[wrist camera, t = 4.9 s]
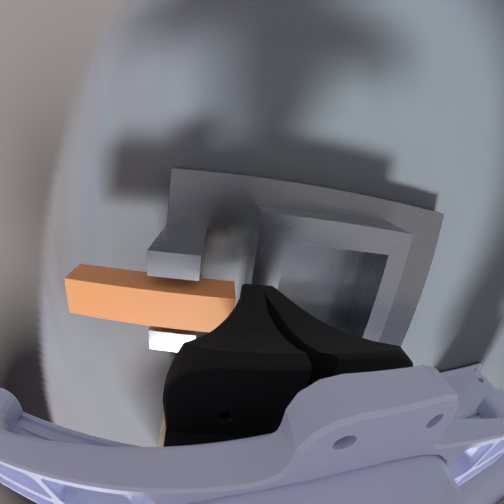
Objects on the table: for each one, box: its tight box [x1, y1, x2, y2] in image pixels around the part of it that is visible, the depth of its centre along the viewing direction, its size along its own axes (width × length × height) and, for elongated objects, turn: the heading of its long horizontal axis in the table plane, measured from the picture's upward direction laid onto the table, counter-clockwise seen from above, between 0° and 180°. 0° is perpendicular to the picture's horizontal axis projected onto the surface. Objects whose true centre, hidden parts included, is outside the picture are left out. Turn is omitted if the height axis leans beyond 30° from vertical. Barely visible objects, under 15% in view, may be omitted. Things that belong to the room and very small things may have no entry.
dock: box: [147, 168, 444, 352], centre depth 14 cm, size 16×10×5 cm, turn 82°
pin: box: [65, 264, 236, 332], centre depth 11 cm, size 7×2×2 cm, turn 82°
